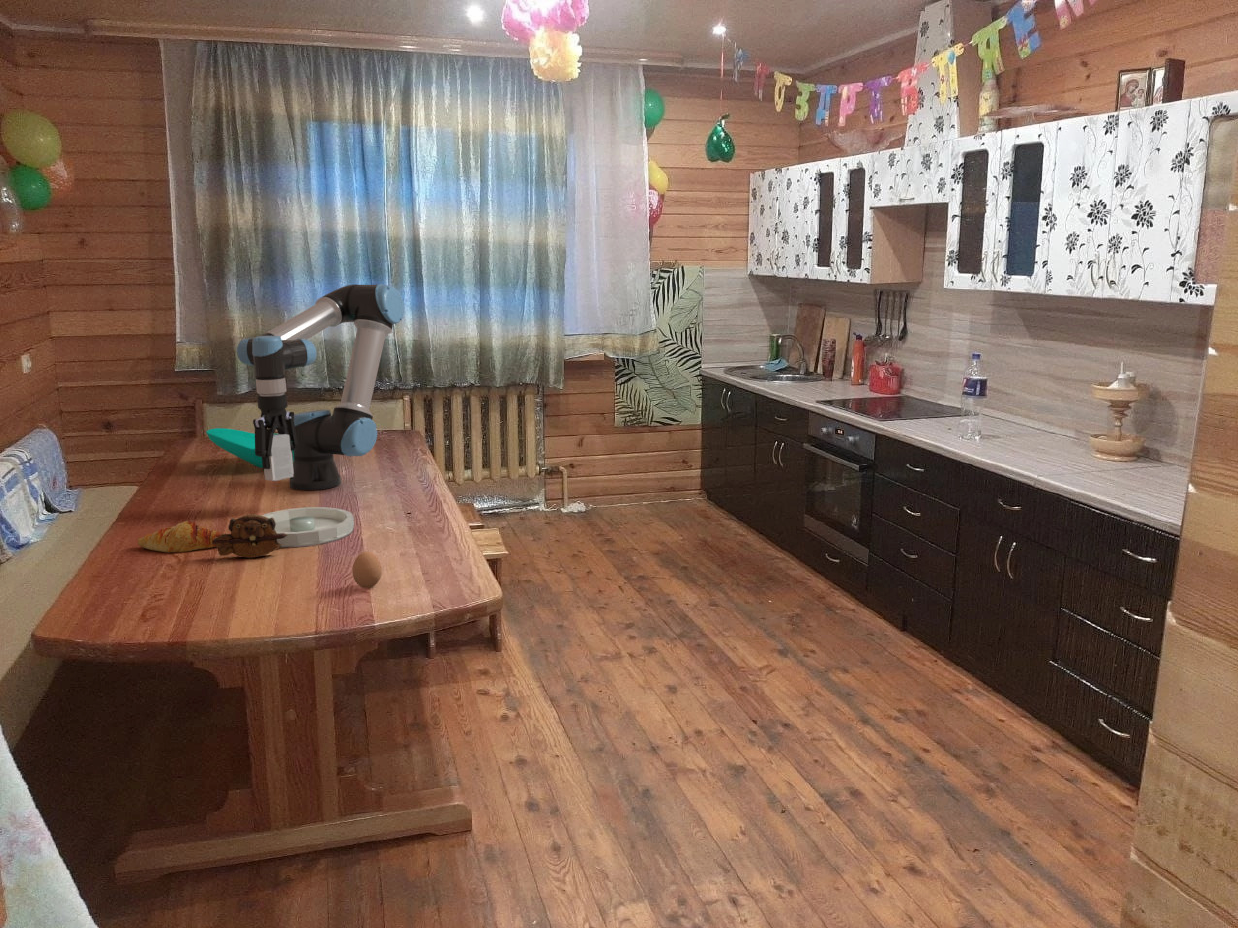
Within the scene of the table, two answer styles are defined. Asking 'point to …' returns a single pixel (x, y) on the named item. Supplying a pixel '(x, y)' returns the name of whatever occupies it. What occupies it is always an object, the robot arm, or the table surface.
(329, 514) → the ring tray
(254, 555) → the wooden carving
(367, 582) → the egg
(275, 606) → the table surface
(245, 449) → the table top decor
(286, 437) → the skincare box
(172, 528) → the croissant
